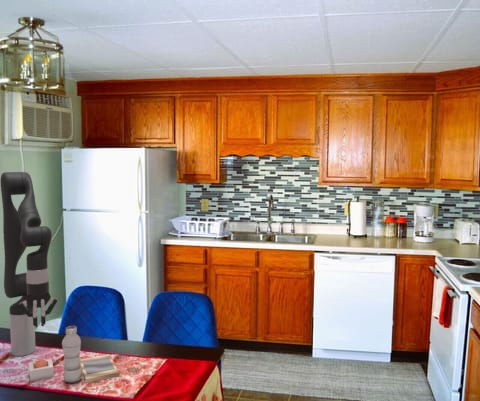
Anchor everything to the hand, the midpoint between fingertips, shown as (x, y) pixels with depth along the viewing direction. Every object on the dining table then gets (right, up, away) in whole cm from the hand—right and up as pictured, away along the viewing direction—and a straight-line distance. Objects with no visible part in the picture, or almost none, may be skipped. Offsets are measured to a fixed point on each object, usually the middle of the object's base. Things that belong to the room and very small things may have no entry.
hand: (39, 326), depth 175 cm
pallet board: (+20, -18, +6) cm, 28 cm away
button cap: (0, -18, +2) cm, 18 cm away
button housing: (0, -19, +2) cm, 19 cm away
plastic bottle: (+13, -20, -3) cm, 24 cm away
